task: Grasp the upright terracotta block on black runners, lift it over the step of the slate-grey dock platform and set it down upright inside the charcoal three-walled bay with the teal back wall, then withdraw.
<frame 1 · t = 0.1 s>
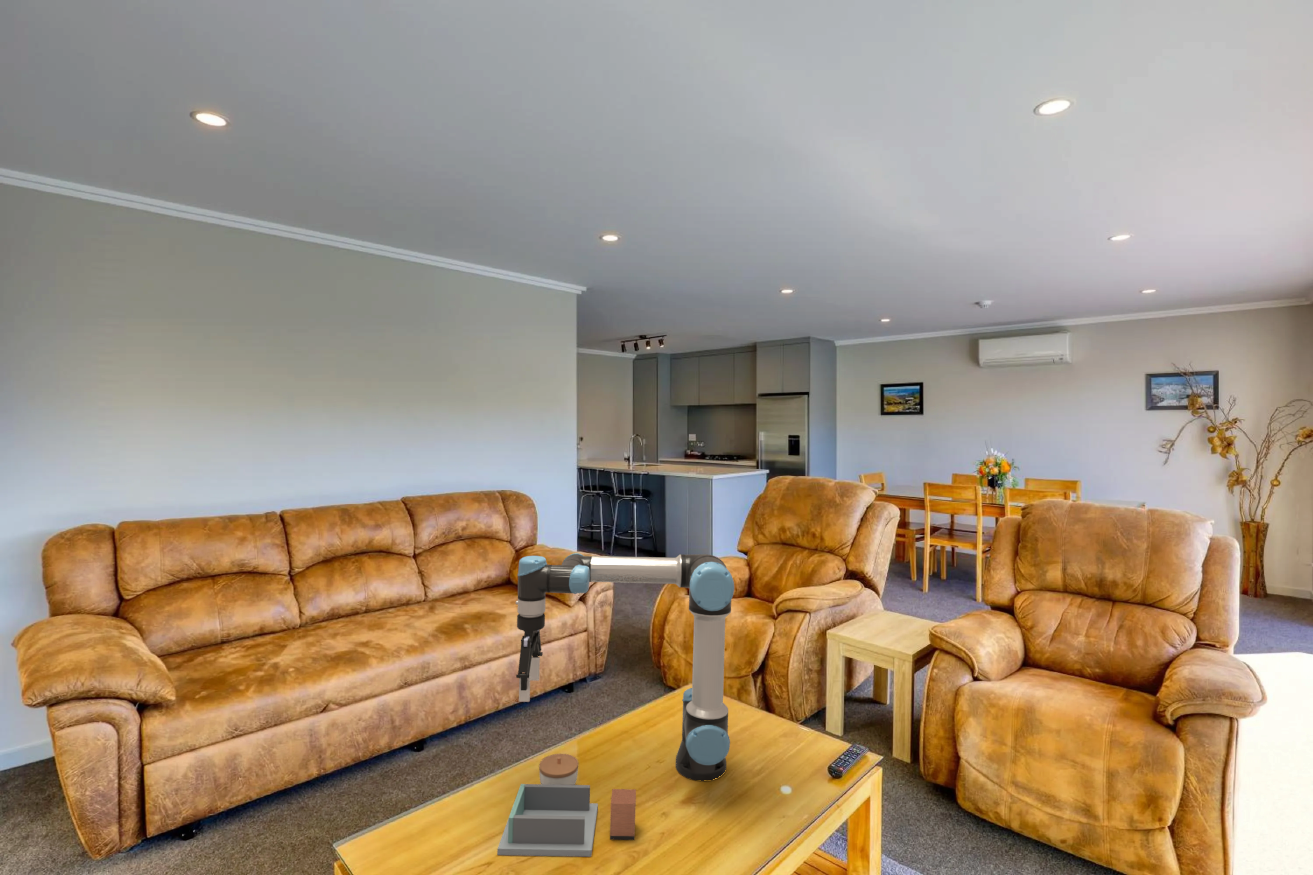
hand: (529, 690, 169), 28 cm above the table, fingers open, 13 cm apart
lidded jar: (558, 791, 169), on the table
upright terracotta block: (622, 831, 153), on the table
dock: (550, 830, 153), on the table
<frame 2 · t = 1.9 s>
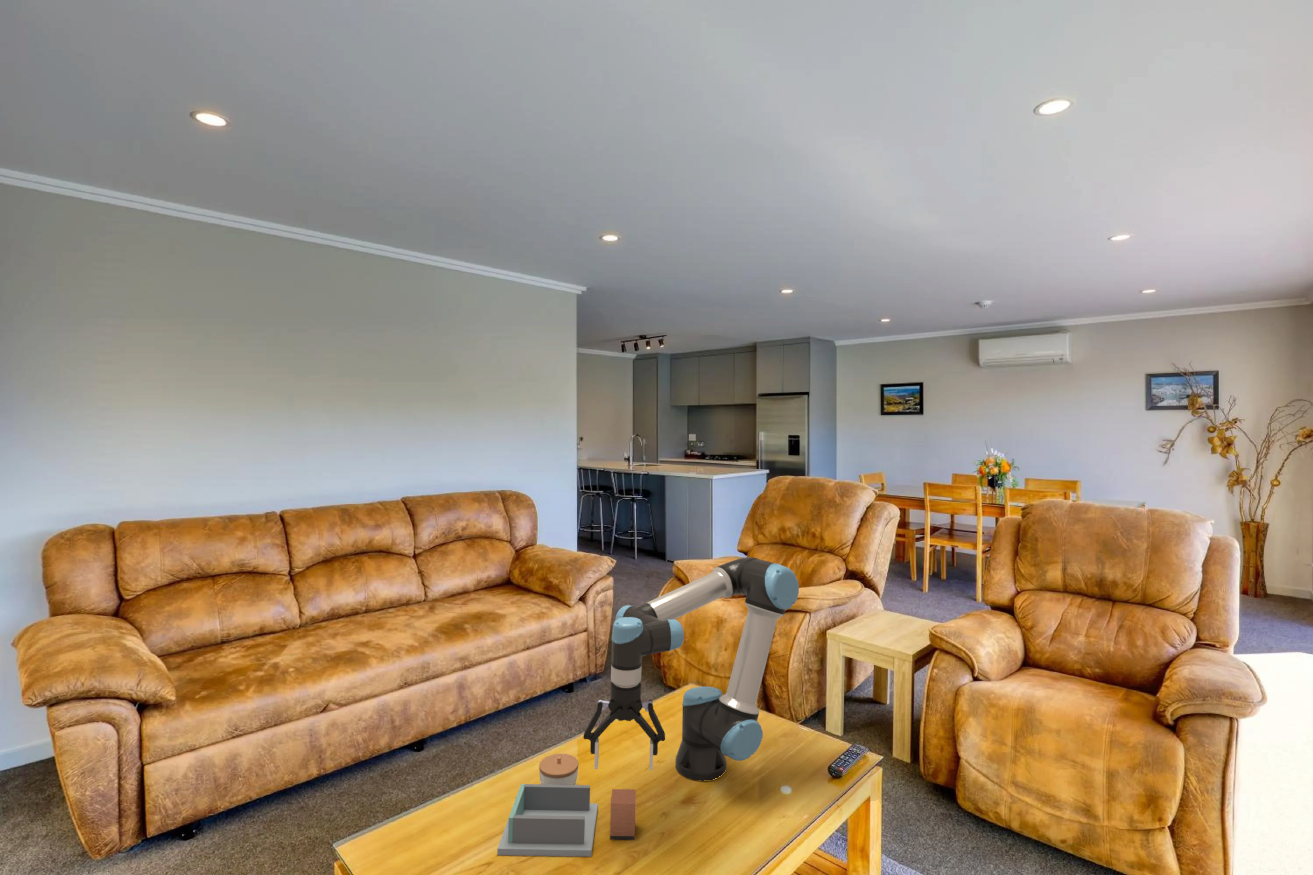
hand: (623, 766, 153), 16 cm above the table, fingers open, 13 cm apart
nothing on the table moved.
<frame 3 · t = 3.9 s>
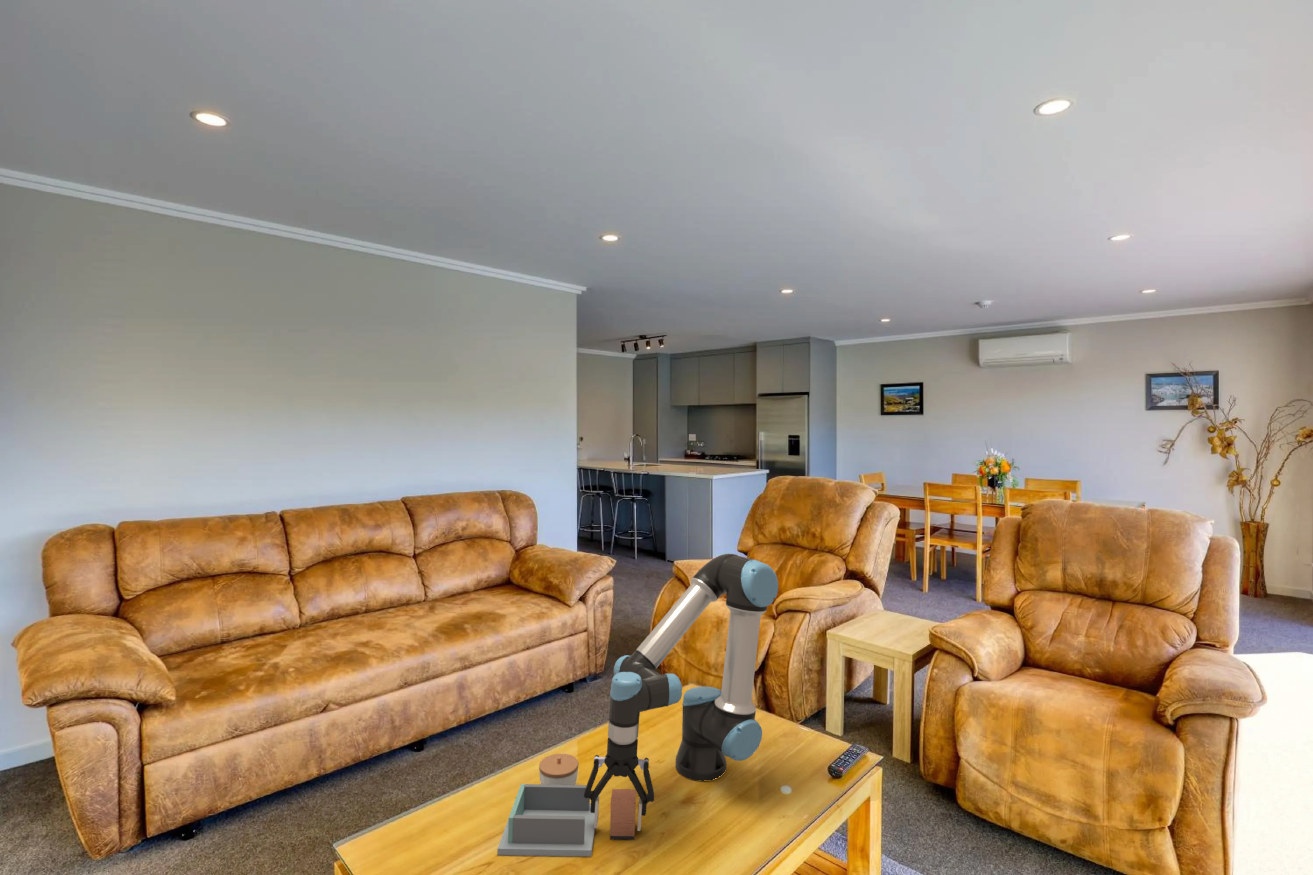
hand: (617, 825, 153), 2 cm above the table, fingers open, 10 cm apart
nothing on the table moved.
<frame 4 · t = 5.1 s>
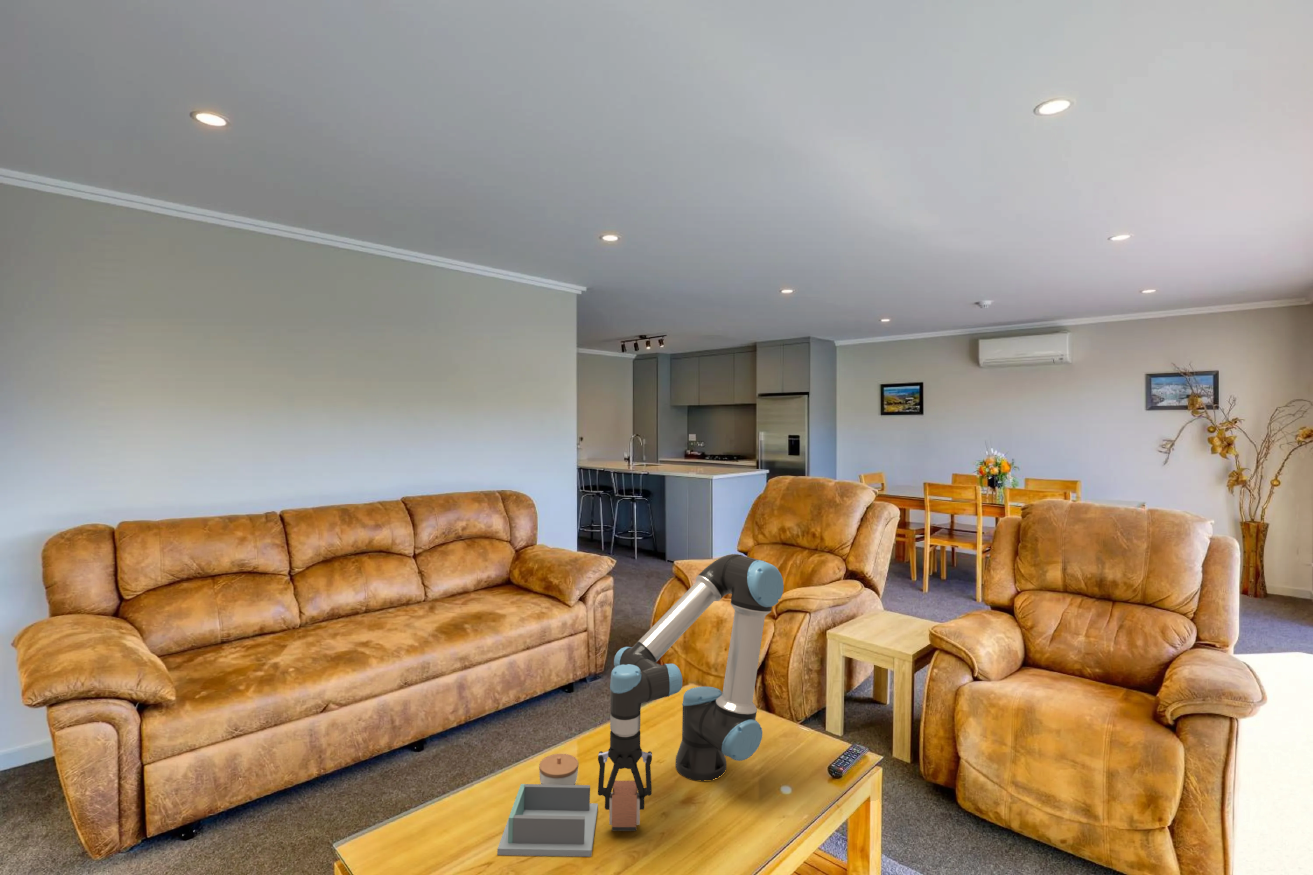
hand: (624, 820, 153), 3 cm above the table, fingers closed on upright terracotta block, 6 cm apart
upright terracotta block: (624, 822, 153), point 2 cm above the table, touching gripper
everything else where it was.
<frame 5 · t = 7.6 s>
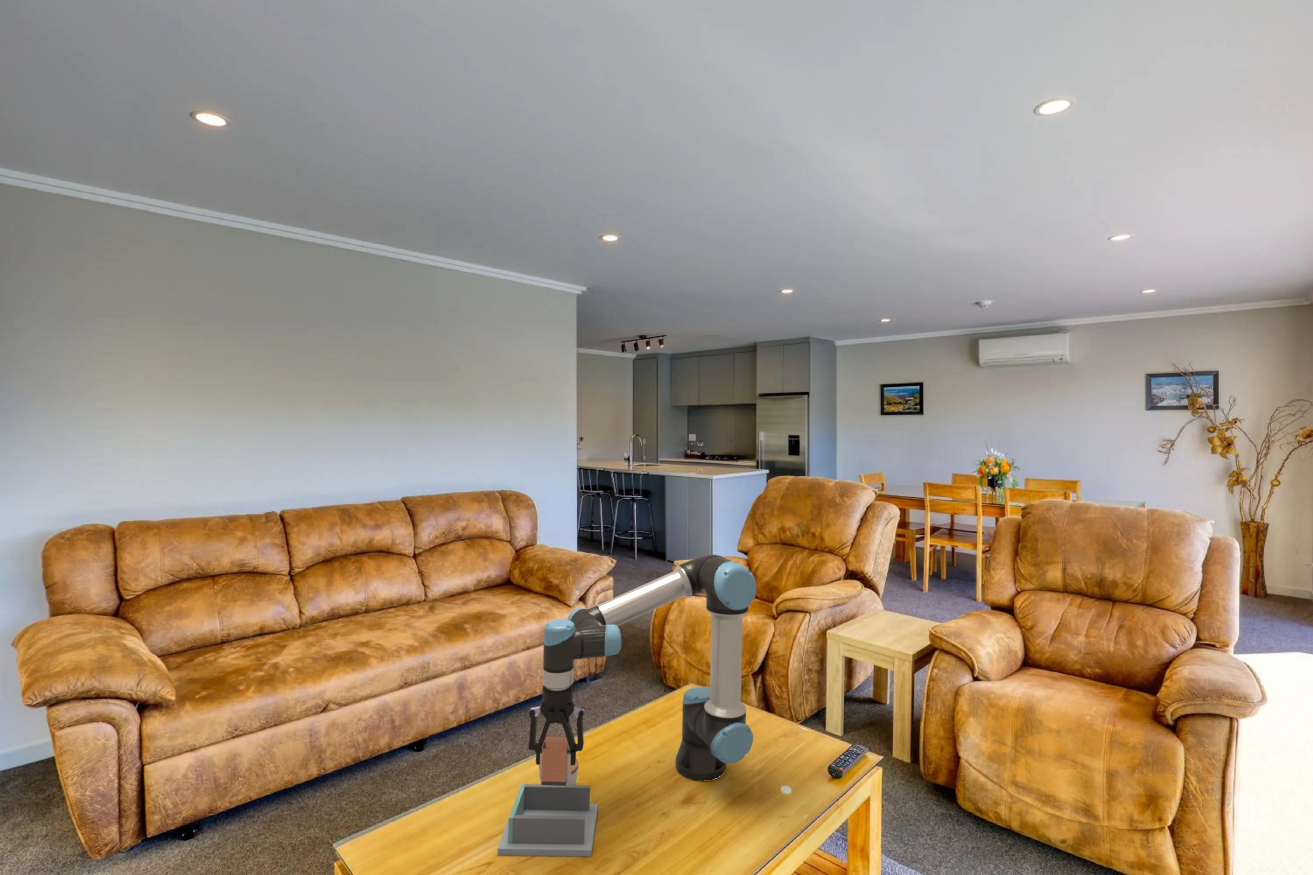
hand: (555, 776, 152), 14 cm above the table, fingers closed on upright terracotta block, 6 cm apart
upright terracotta block: (555, 778, 152), point 13 cm above the table, touching gripper
everything else where it was.
when the fingers open (3 cm above the table, at t = 10.1 s): upright terracotta block stays where it is, resting on dock.
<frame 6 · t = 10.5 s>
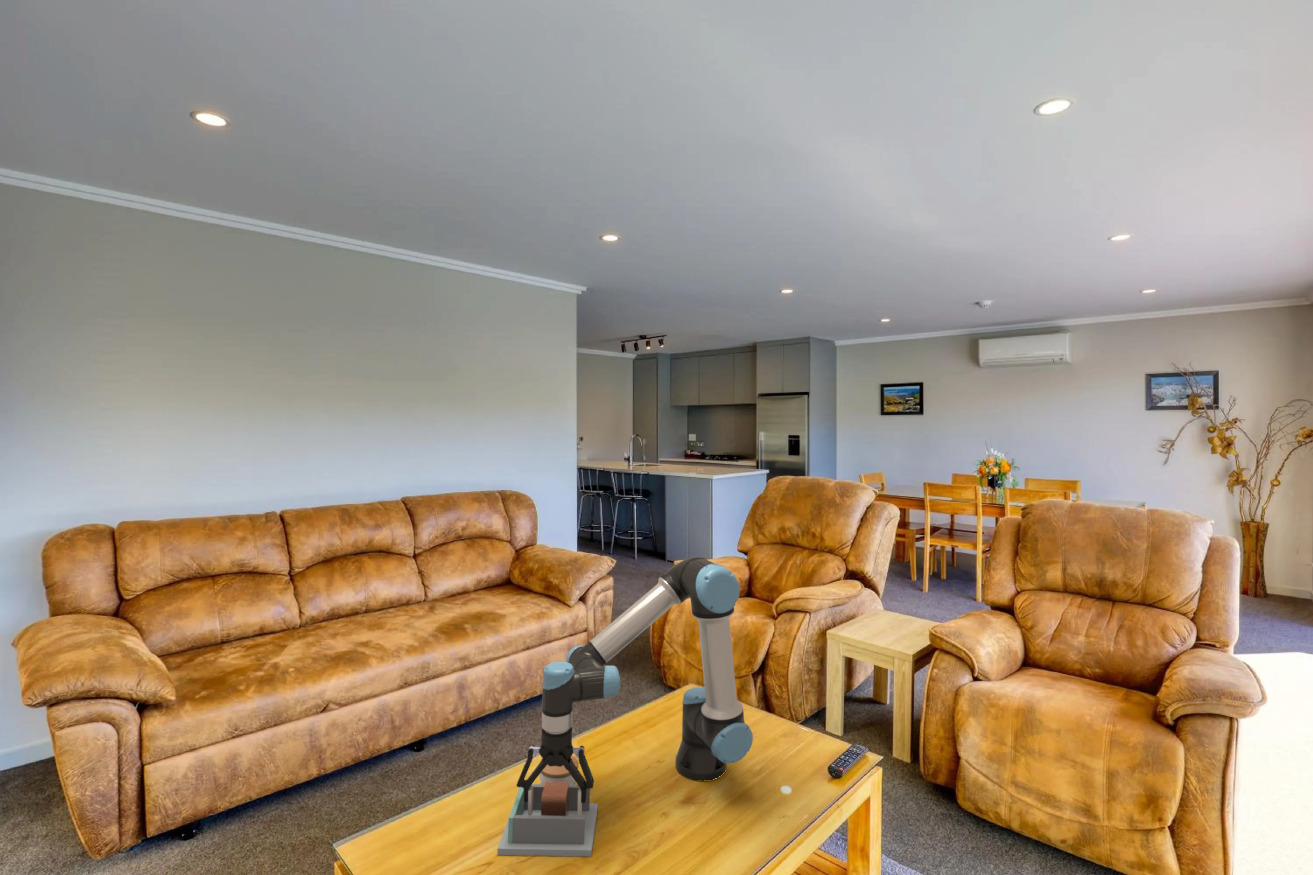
hand: (554, 813, 152), 4 cm above the table, fingers open, 11 cm apart
upright terracotta block: (554, 824, 153), point 1 cm above the table, touching dock
everything else where it was.
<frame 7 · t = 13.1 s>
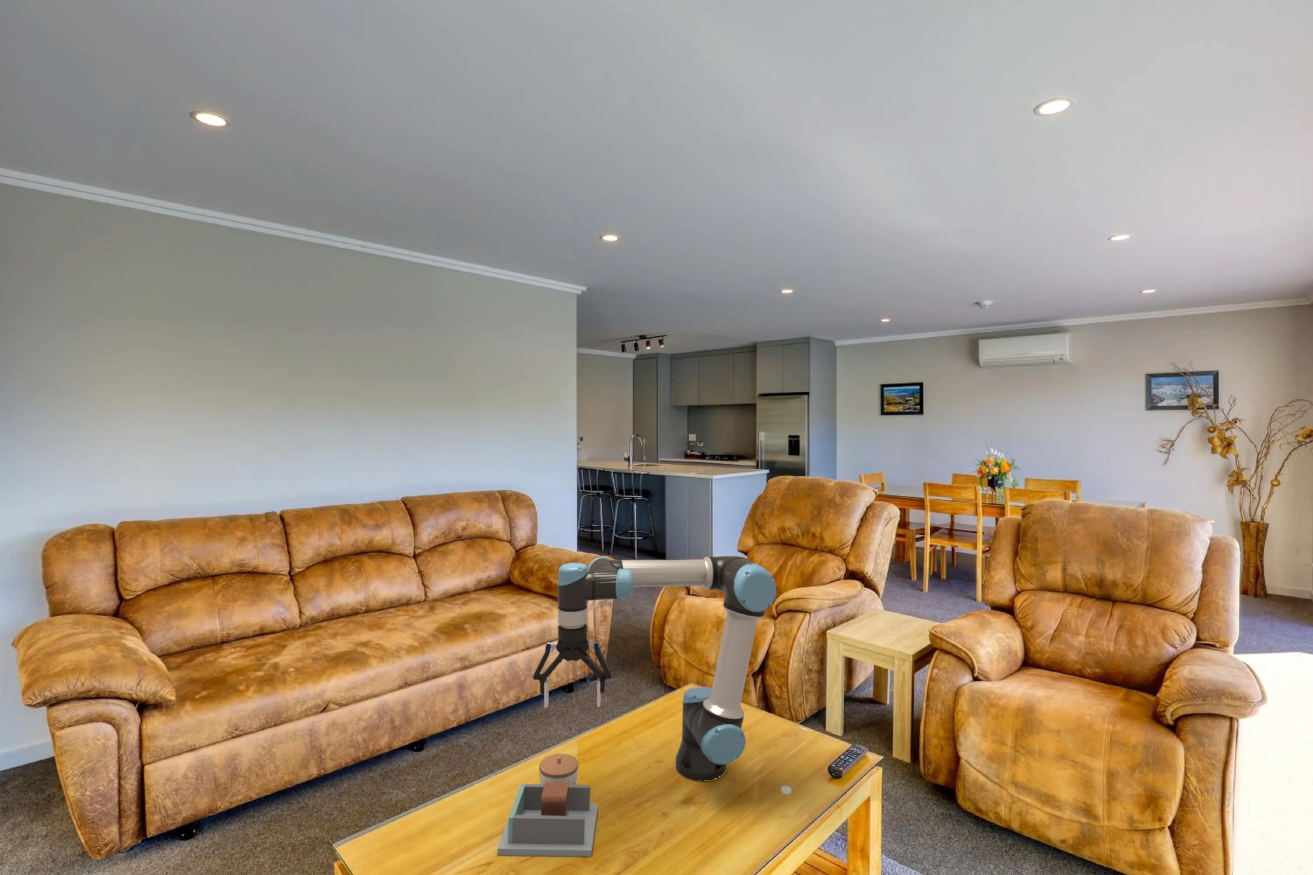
hand: (572, 704, 160), 28 cm above the table, fingers open, 13 cm apart
nothing on the table moved.
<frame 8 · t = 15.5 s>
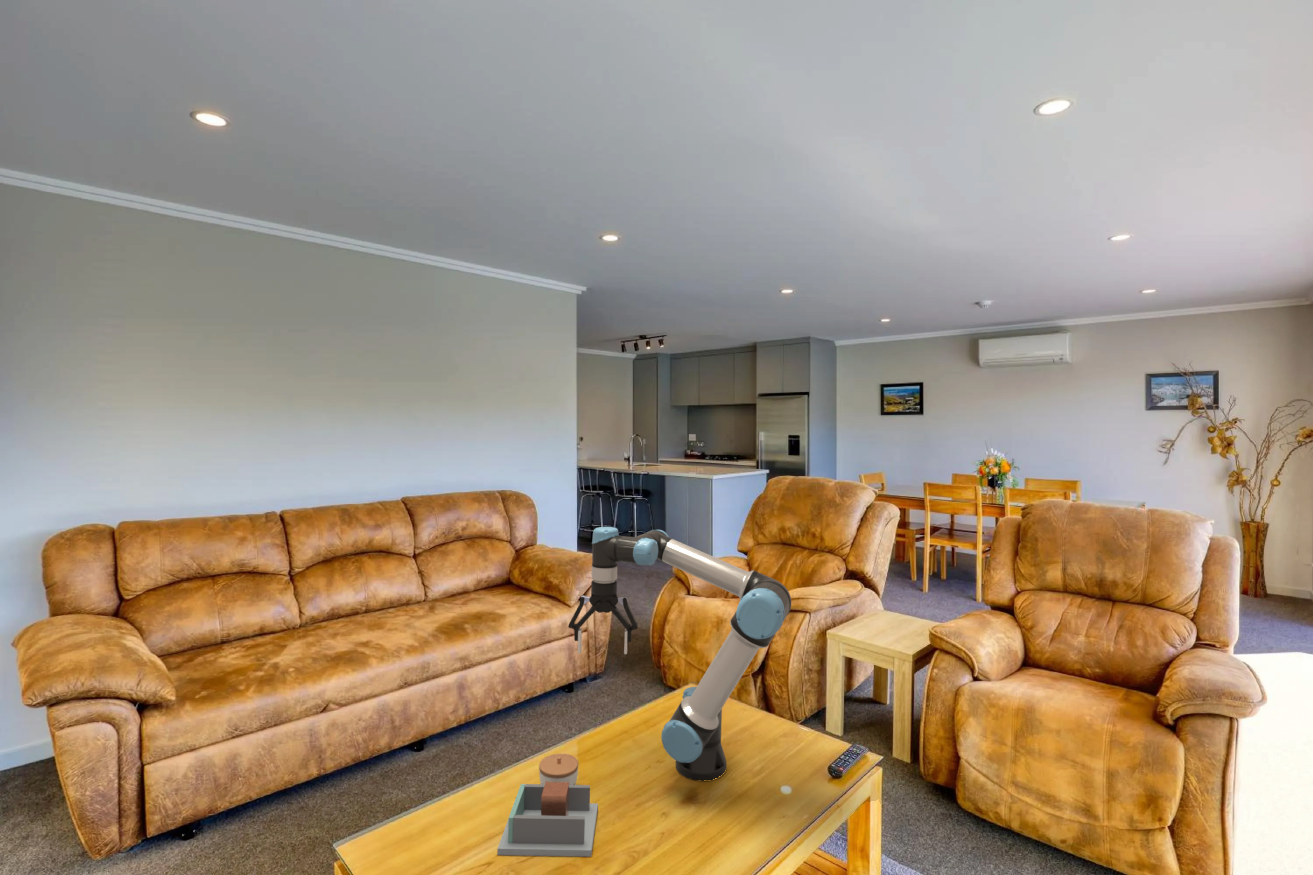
hand: (602, 652, 180), 35 cm above the table, fingers open, 13 cm apart
nothing on the table moved.
at the end: upright terracotta block inside the target area on the dock (0.5 cm from its centre), point 1.5 cm above the dock's base; upright terracotta block tilted 0°; the gripper is holding nothing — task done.
